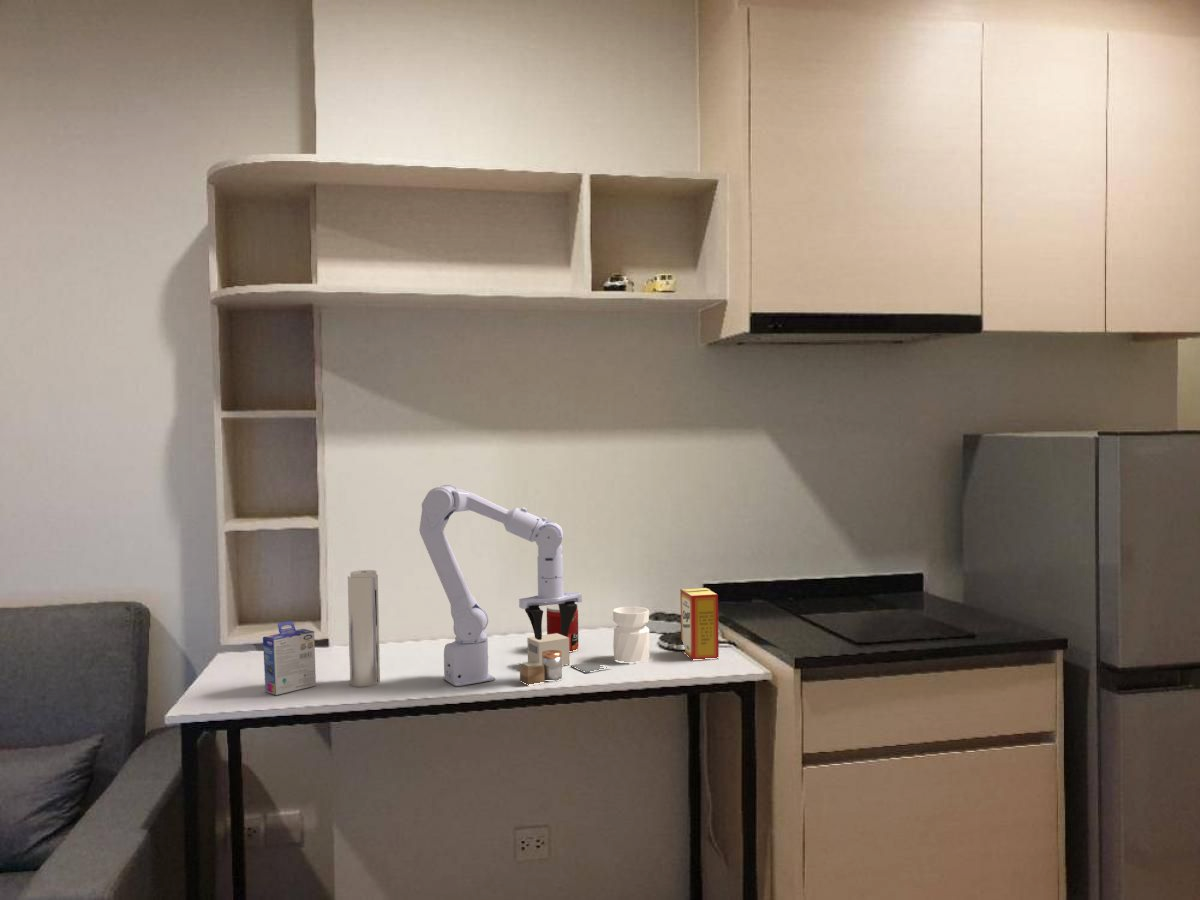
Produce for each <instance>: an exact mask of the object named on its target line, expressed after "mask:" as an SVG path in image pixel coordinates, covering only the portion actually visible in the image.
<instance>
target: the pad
mask: <svg viewBox="0 0 1200 900" xmlns="http://www.w3.org/2000/svg"><path fill="white" fill-rule="evenodd" d="M596 661H597V660H595V661H587V662H581V663H576V664H571V665H570V667H571V666H573V667H576V668H578V669H580V670H582V671H585V672H590V671H594V670H599V669H604V668H600V667H603V666H600V665H604V664H605V663H603V664H601V663H602V662H600V661H598V662H596ZM599 662H600V663H599ZM606 668H607V667H606Z"/></svg>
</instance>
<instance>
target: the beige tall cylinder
mask: <svg viewBox="0 0 1200 900" xmlns="http://www.w3.org/2000/svg"><path fill="white" fill-rule="evenodd" d="M347 600H348V601H347V605H348V610H347V611H348V612H347V613H348V646H349V649H348V650H349V655H348V656H349V657H348V658H349V684H350V686H352V687H355V688H365V687H367V686H368V687H373V686H376V685H378V684H379V683H380V682H381V672H380V671H381V667H380V666H381V665H380V664H381V661H380V660H381V659H380V658H381V657H380V656H381V655H380V626H379V625H380V623H379V622H380V620H379V619H380V617H379V575H378V574H377V570H374V569H373V570H372V569H359V570H353V571H351V572H350V575H349V576H347ZM372 685H373V686H372ZM368 687H367V688H368Z"/></svg>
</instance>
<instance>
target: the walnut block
mask: <svg viewBox="0 0 1200 900" xmlns="http://www.w3.org/2000/svg"><path fill="white" fill-rule="evenodd" d="M519 681H522V682H524V683H526V684H528V685H529V684H534V683H540V682H545V681H544V665H542V664H540V663H538V662H536V661H533V662H528V661H527V662H522V663H521V664H519Z"/></svg>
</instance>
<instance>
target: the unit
mask: <svg viewBox="0 0 1200 900" xmlns="http://www.w3.org/2000/svg"><path fill="white" fill-rule="evenodd" d="M526 641H527V662H533V661H536V662H538V663H540V664H542V652H543V651H547V650H558V651H561V652H562V665H566V664H570V653H569V638H568V637H566V636H563V635H560V634H558V633H555V634H548V635H547V634H544V635H543V634H542V639H541V640H538V639H536V638H535V636H531V637H530V636H529V637H527V640H526Z"/></svg>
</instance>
